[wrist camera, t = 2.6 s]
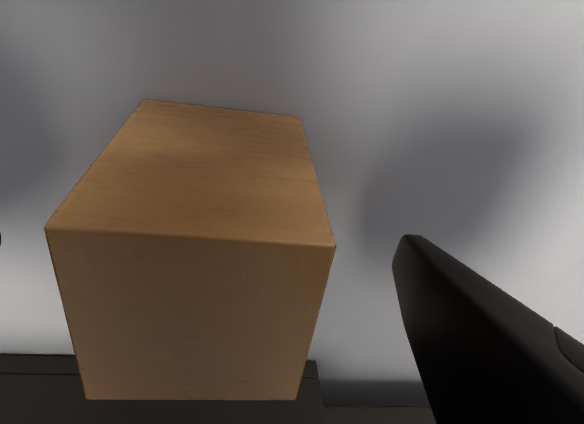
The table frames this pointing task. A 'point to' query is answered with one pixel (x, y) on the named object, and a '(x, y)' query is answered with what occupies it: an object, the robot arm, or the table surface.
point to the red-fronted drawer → (378, 415)
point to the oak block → (194, 257)
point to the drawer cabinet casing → (134, 413)
